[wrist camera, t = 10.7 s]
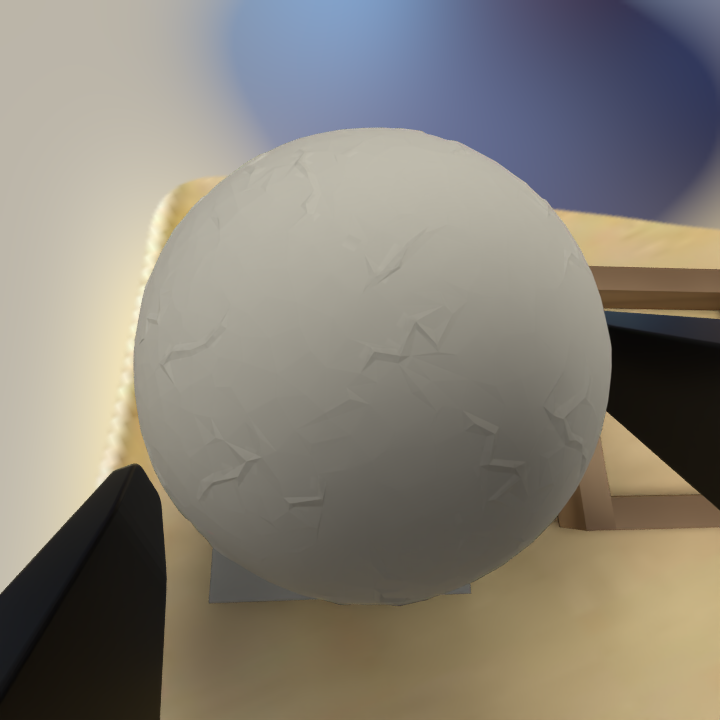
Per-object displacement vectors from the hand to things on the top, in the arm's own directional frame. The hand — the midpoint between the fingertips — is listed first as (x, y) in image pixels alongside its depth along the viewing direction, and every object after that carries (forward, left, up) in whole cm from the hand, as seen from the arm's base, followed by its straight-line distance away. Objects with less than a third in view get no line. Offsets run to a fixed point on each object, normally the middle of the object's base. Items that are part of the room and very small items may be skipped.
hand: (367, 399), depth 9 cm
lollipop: (0, 0, -10) cm, 10 cm away
